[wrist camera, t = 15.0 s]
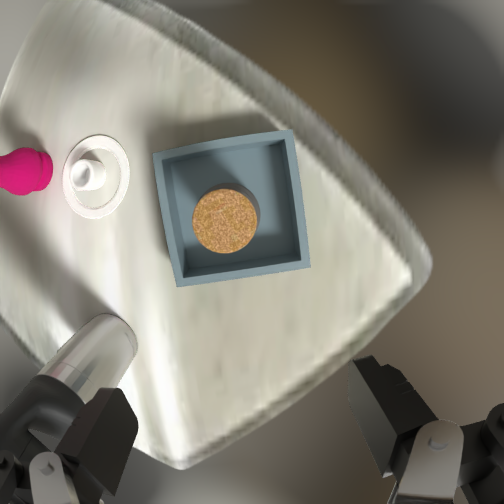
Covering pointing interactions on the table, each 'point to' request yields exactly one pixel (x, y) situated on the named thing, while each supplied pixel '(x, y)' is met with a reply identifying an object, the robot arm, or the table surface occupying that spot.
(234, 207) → the bottle
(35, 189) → the pepper mill
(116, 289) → the table surface
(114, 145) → the candle holder
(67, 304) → the table surface
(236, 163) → the tote
